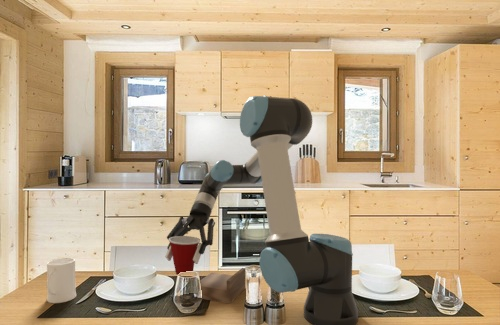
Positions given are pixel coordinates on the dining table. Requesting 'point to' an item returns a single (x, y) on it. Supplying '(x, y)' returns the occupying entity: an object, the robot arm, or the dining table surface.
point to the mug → (61, 280)
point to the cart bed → (223, 286)
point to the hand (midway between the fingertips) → (181, 260)
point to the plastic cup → (183, 252)
